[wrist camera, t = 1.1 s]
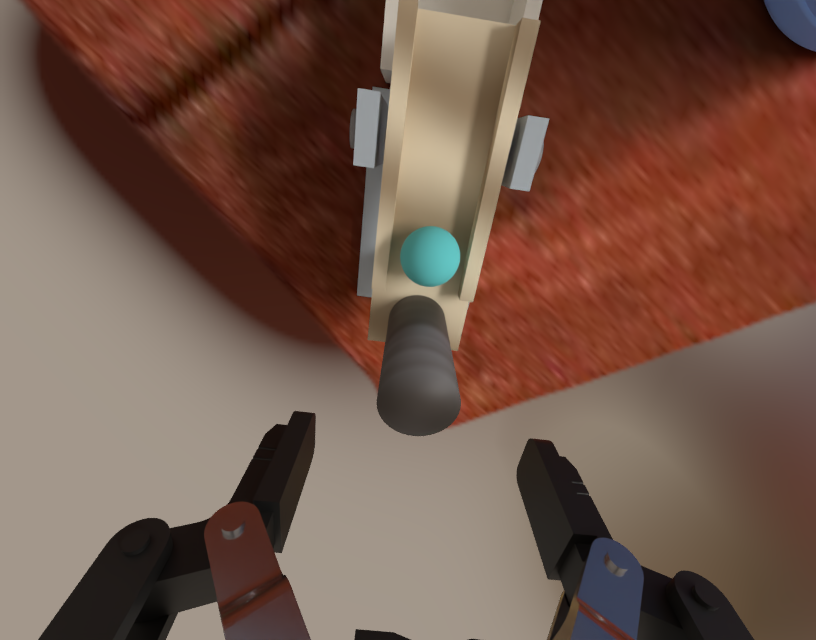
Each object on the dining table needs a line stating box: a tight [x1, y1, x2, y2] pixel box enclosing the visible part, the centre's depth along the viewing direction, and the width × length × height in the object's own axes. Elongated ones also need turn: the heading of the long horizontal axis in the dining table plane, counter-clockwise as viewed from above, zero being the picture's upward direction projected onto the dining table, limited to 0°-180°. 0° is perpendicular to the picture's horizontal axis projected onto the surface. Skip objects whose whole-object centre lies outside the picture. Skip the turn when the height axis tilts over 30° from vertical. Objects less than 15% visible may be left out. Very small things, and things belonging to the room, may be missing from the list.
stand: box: [350, 87, 549, 310], centre depth 23 cm, size 15×10×9 cm, turn 172°
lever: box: [368, 0, 541, 436], centre depth 16 cm, size 17×6×9 cm, turn 172°
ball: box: [400, 226, 460, 287], centre depth 18 cm, size 3×3×3 cm
